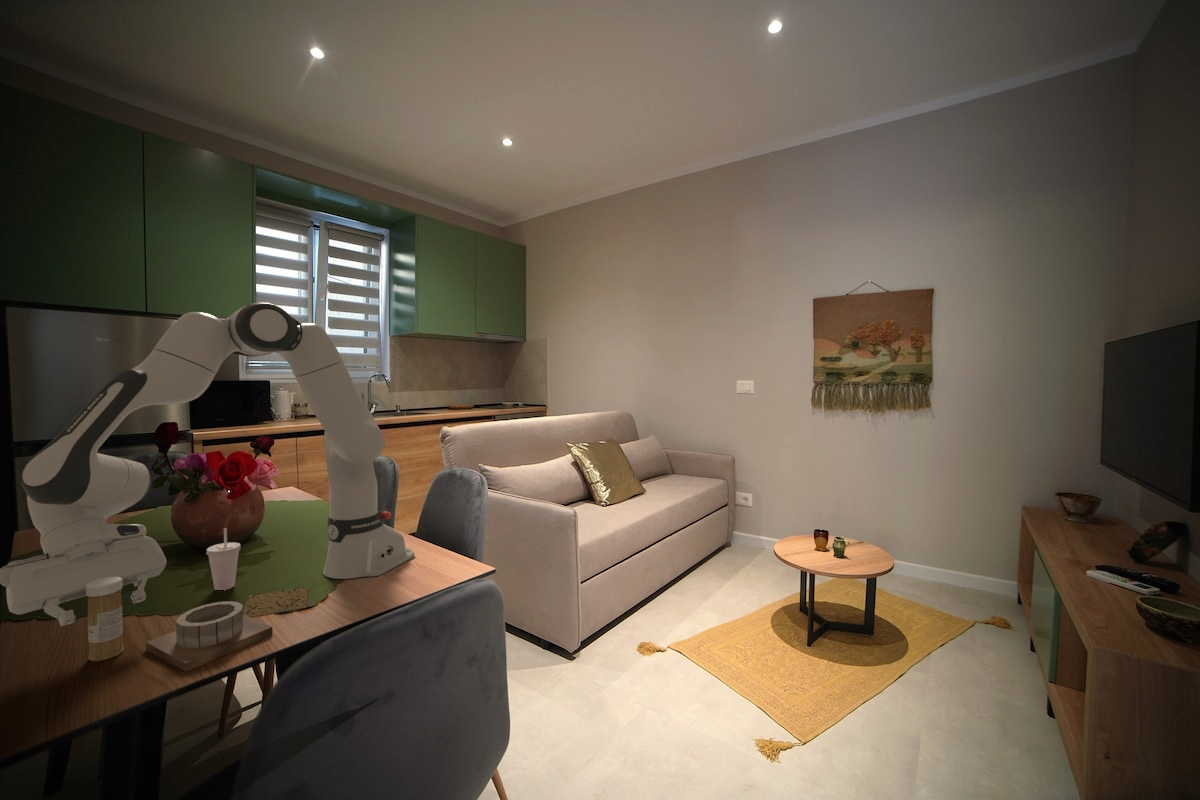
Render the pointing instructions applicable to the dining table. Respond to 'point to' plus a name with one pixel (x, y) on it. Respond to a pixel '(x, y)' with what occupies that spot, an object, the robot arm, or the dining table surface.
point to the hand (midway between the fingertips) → (106, 611)
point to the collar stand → (208, 635)
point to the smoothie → (224, 563)
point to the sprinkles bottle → (104, 618)
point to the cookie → (276, 602)
